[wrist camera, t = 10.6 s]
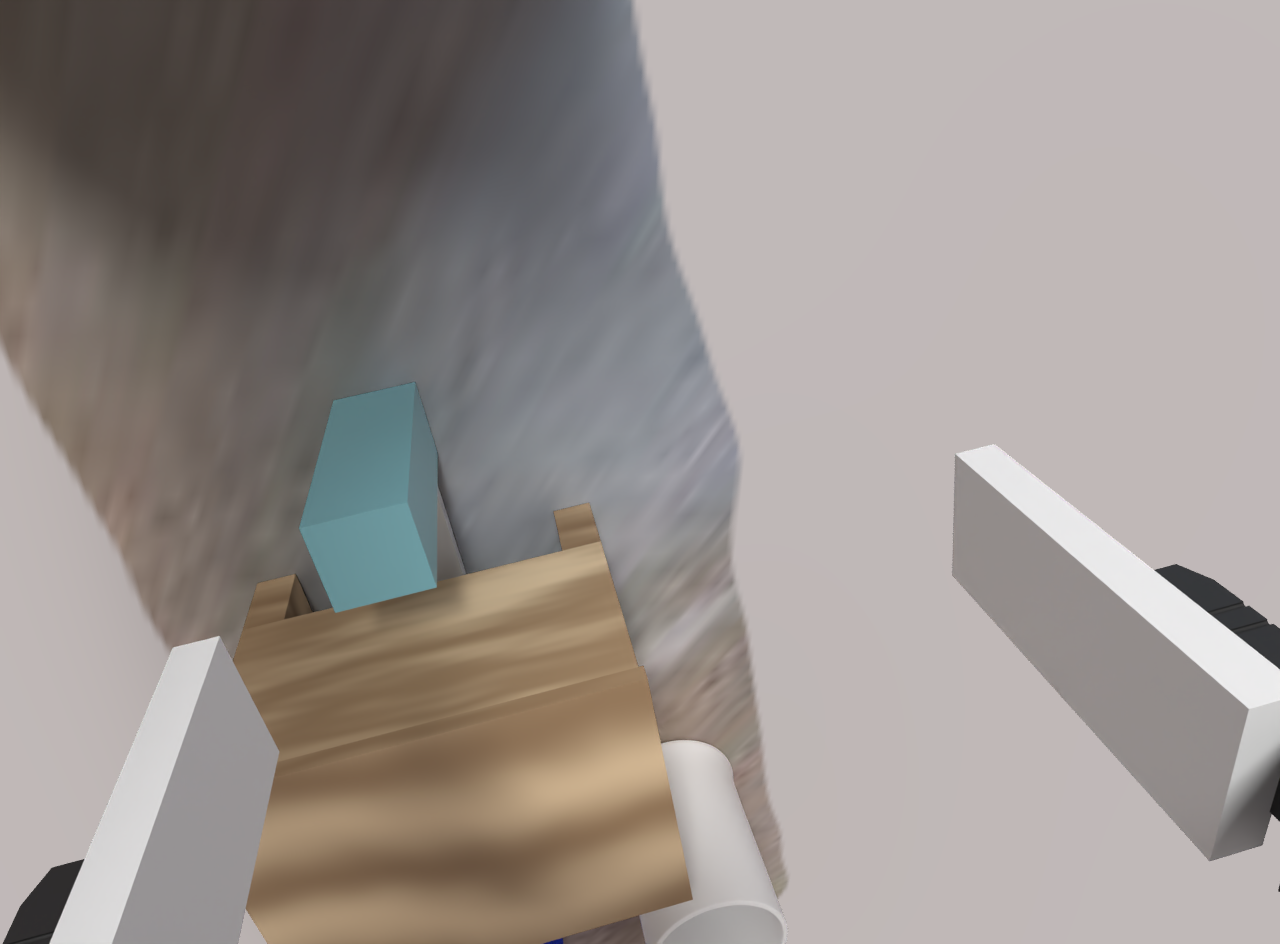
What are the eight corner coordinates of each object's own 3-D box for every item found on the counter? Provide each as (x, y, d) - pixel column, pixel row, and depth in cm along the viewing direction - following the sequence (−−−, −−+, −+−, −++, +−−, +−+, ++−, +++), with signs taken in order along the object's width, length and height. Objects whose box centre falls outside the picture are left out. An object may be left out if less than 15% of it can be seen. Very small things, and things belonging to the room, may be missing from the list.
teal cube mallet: (333, 400, 42) (299, 528, 32) (415, 381, 43) (407, 502, 32) (470, 768, 55) (477, 945, 45) (532, 751, 56) (553, 923, 45)
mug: (722, 852, 64) (777, 1016, 53) (607, 869, 62) (640, 1041, 52) (737, 731, 58) (801, 888, 48) (611, 746, 57) (649, 912, 46)
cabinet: (252, 581, 46) (179, 802, 33) (591, 498, 48) (647, 678, 35) (341, 769, 53) (309, 1011, 40) (634, 691, 55) (693, 899, 42)
